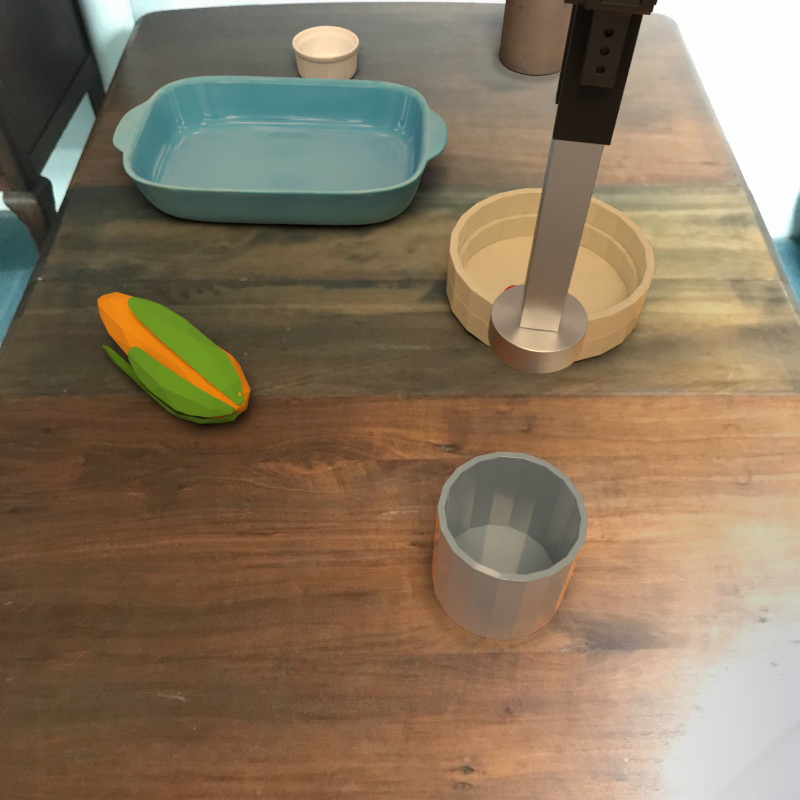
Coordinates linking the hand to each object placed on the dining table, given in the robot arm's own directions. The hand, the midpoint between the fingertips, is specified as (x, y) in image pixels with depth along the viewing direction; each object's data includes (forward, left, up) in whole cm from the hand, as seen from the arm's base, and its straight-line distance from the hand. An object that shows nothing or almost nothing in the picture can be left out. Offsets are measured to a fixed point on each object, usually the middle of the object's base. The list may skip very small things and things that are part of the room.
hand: (582, 119), depth 38 cm
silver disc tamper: (0, 0, -16) cm, 16 cm away
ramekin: (+67, -24, -35) cm, 79 cm away
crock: (-5, +5, -35) cm, 36 cm away
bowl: (+17, -19, -35) cm, 43 cm away
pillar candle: (+54, -50, -35) cm, 81 cm away
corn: (+28, +17, -35) cm, 48 cm away
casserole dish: (+48, -7, -35) cm, 60 cm away
